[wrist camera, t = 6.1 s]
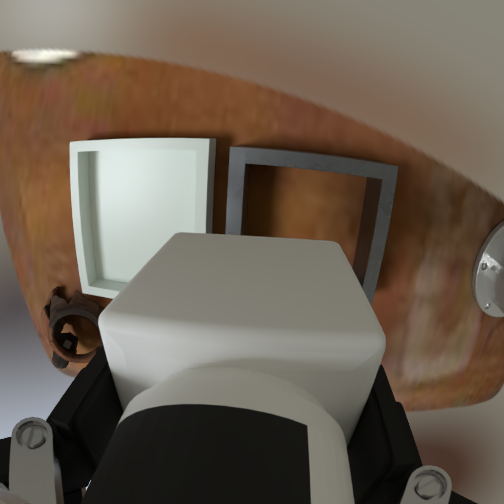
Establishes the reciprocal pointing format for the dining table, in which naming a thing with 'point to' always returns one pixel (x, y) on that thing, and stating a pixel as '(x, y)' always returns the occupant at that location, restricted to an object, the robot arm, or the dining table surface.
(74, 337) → the broken pottery ring
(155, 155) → the tray
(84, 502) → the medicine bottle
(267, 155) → the holder
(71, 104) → the dining table surface
